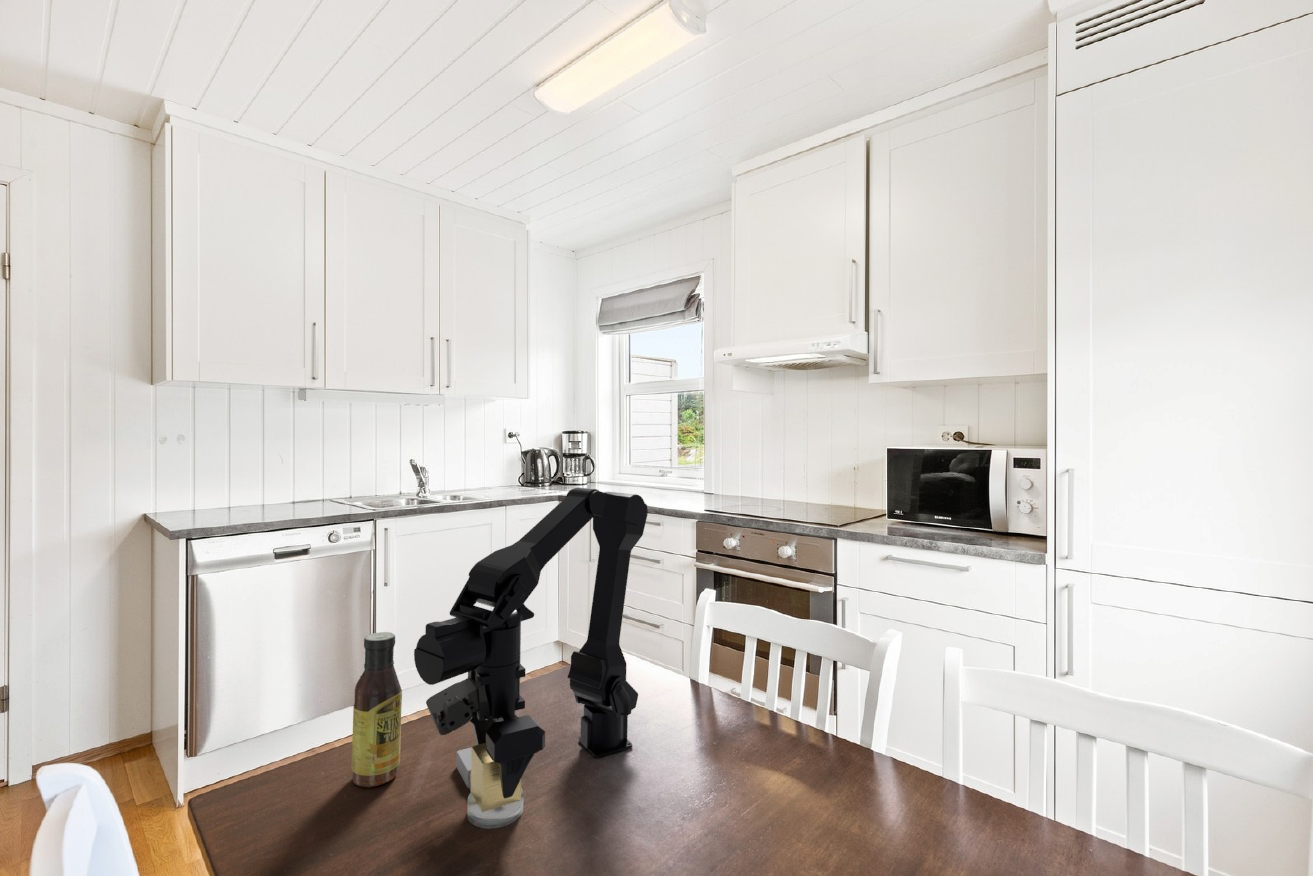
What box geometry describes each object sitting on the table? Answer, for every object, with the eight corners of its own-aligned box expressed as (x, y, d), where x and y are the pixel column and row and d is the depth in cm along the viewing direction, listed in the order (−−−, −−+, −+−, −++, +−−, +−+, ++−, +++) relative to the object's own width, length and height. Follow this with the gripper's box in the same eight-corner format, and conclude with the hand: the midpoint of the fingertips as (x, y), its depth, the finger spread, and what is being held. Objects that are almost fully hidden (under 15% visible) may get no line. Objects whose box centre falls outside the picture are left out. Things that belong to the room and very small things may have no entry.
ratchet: (531, 817, 80) (531, 775, 80) (476, 835, 76) (476, 791, 76) (491, 758, 94) (492, 721, 94) (443, 770, 90) (444, 733, 90)
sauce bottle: (381, 793, 85) (383, 646, 84) (341, 786, 86) (342, 642, 85) (410, 767, 91) (411, 631, 91) (371, 761, 92) (373, 627, 92)
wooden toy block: (507, 781, 85) (508, 737, 85) (520, 800, 80) (521, 753, 80) (470, 792, 82) (471, 746, 82) (482, 812, 78) (482, 764, 78)
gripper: (417, 647, 84) (416, 761, 85) (451, 700, 69) (450, 841, 69) (498, 633, 90) (497, 741, 91) (547, 680, 75) (545, 809, 75)
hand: (496, 778), depth 81 cm, fingers open, 9 cm apart
